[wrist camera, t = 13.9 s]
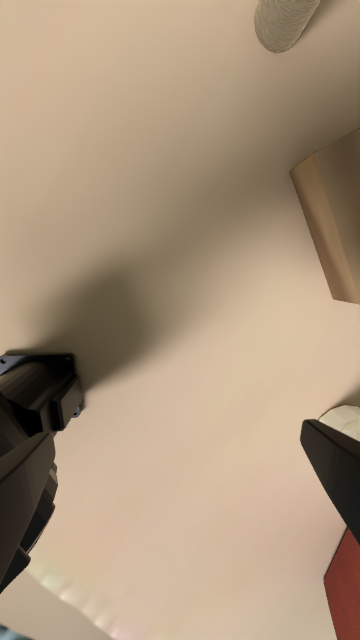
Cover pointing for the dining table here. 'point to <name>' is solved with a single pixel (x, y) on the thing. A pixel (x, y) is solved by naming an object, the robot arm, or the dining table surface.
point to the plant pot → (345, 589)
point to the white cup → (344, 420)
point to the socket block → (334, 211)
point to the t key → (282, 22)
